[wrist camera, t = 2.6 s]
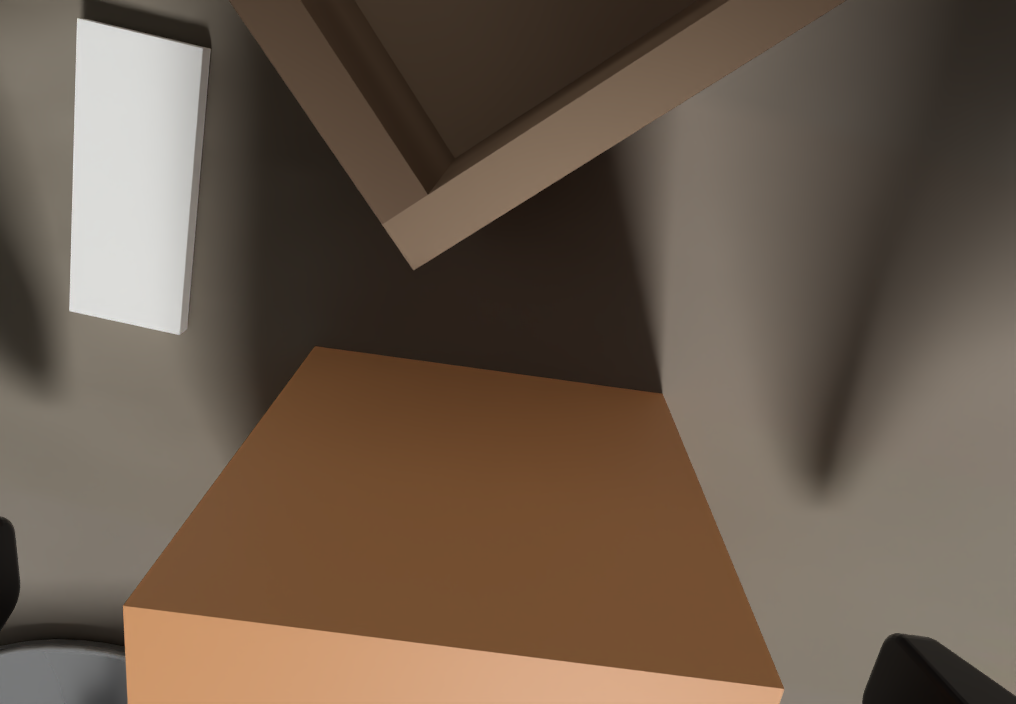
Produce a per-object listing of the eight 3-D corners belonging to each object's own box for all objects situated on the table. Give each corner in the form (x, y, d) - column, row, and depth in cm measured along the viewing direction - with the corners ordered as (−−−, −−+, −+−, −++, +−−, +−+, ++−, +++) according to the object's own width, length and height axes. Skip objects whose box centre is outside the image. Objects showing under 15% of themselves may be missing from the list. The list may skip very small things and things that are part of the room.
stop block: (300, 624, 10) (143, 1023, 6) (316, 344, 9) (123, 605, 5) (599, 662, 10) (650, 1078, 6) (661, 390, 9) (784, 689, 5)
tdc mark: (187, 328, 9) (179, 334, 8) (79, 305, 9) (69, 310, 8) (210, 48, 8) (203, 48, 7) (88, 19, 8) (77, 18, 7)
